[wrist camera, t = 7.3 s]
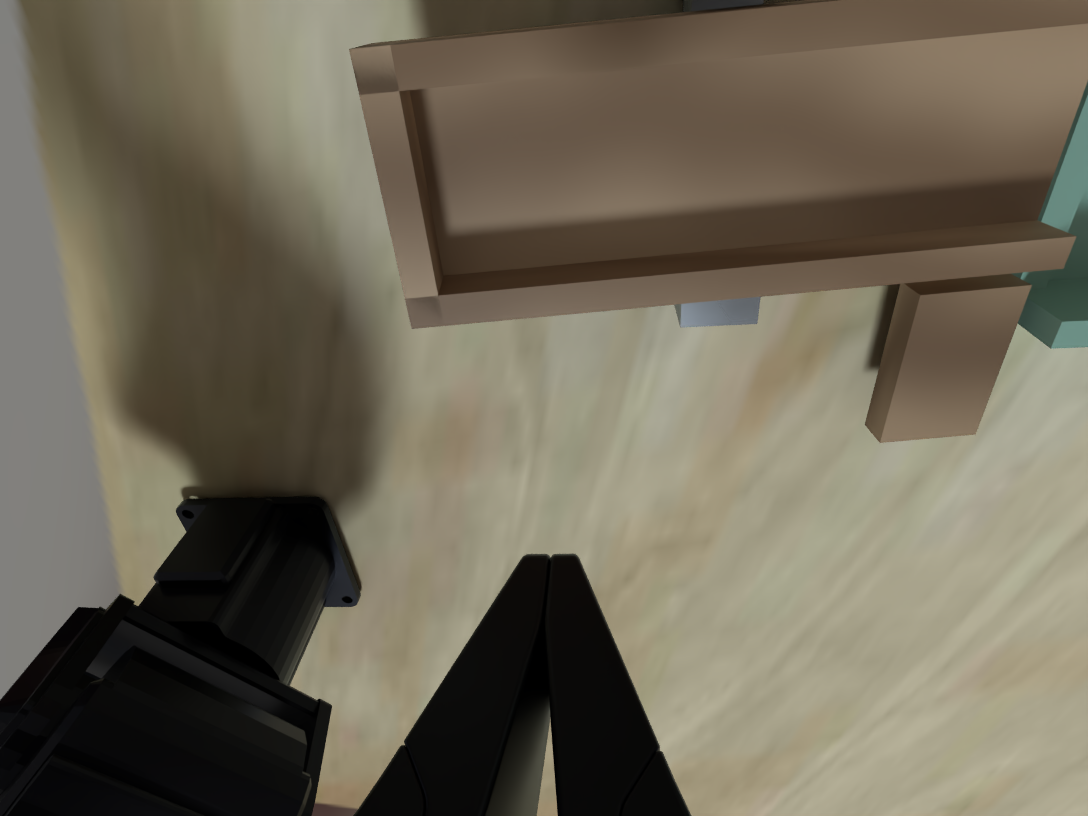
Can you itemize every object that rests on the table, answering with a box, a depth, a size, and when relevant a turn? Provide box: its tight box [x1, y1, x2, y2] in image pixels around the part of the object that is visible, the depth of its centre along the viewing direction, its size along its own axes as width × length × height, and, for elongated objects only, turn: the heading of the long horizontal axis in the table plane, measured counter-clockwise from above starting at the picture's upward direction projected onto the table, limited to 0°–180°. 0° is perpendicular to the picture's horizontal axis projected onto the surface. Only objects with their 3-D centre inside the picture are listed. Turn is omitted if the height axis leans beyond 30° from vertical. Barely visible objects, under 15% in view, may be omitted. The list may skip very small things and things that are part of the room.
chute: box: [349, 0, 1088, 443], centre depth 16 cm, size 12×16×2 cm
